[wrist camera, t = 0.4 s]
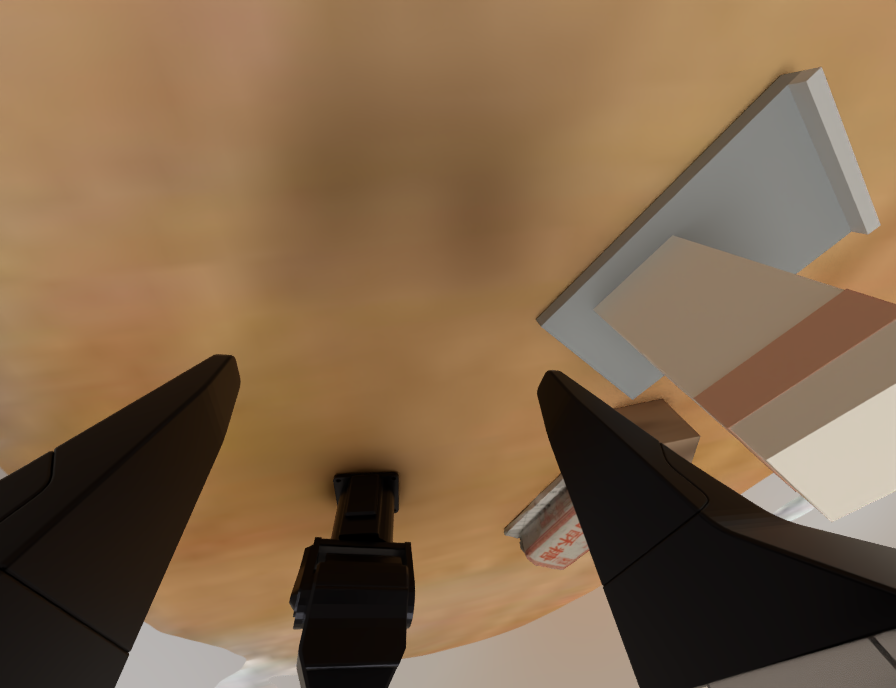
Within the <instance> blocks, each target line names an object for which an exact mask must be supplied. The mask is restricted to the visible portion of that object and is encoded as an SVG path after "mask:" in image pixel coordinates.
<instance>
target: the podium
mask: <svg viewBox="0 0 896 688" xmlns="http://www.w3.org/2000/svg"><path fill="white" fill-rule="evenodd" d="M879 226H880V222H879V219H878V217H877V214H876V211H875V209H874V206H873V203H872V201H871V198H870V195H869V193H868V190H867V187H866V185H865V182H864V179H863V177H862V174H861V171H860V169H859V166H858V163H857V161H856V158H855V155H854V152H853V150H852V147H851V144H850V142H849V139H848V136H847V134H846V131H845V128H844V126H843V123H842V120H841V118H840V115H839V112H838V110H837V107H836V104H835V102H834V99H833V96H832V93H831V91H830V88H829V85H828V83H827V80H826V77H825V75H824V72H823V69H822V67H818V68H813V69H808V70H804V71H799V72H794V73H789V74H784V75H781V76H780V77H779V78H778V79H777V80H776V81H775V82H774V83H773V84H772V85H771V86H770V87H769V88H768V89H767V90H766V91H765V92H764V93H763V94H762V95H761V96H760V97H759V98H757V99H756V100H755V101H754V102H753V103H752V104H751V105H750V106H749V107H748V108H747V109H746V110H745V111H744V112H743V113H742V114H741V115H740V116H739V117H738V118H737V119H736V120H735V121H734V122H733V123H732V124H731V125H730V126H729V127H728V128H727V129H726V130H725V131H724V132H723V133H722V134H721V135H720V136H719V137H718V138H717V139H716V140H715V141H714V142H713V143H712V144H711V145H710V146H709V147H708V148H707V149H706V150H705V151H704V152H703V153H702V154H701V155H700V156H699V157H698V158H697V159H696V160H695V161H694V162H693V163H692V164H691V165H690V166H689V167H688V168H687V169H686V170H685V171H684V172H683V173H682V174H681V175H680V176H679V177H678V178H677V179H676V180H675V181H674V182H673V183H672V184H671V185H670V186H669V187H668V188H667V189H666V190H665V191H664V192H663V193H662V194H661V195H660V196H659V197H658V198H657V199H656V200H655V201H654V202H653V203H652V204H651V205H650V206H649V207H648V208H647V209H646V210H645V211H644V212H643V213H642V214H641V215H640V216H639V217H638V218H637V219H636V220H635V221H634V222H633V223H632V224H631V225H630V226H629V227H628V228H627V229H626V230H625V231H624V232H623V233H622V234H621V235H620V236H619V237H618V238H617V239H616V240H615V241H614V242H613V243H612V244H611V245H610V246H609V247H608V248H607V249H606V250H605V251H604V252H603V253H602V254H601V255H600V256H599V257H598V258H597V259H596V260H595V261H594V262H593V263H592V264H591V265H590V266H589V267H588V268H587V269H586V270H585V271H584V272H583V273H582V274H581V275H580V276H579V277H578V278H577V279H576V280H575V281H574V282H573V283H572V284H571V285H570V286H569V287H568V288H567V289H566V290H565V291H564V292H563V293H562V294H561V295H560V296H559V297H558V298H557V299H556V300H555V301H554V302H553V303H552V304H551V305H550V306H549V307H548V308H547V309H546V310H545V311H544V312H543V313H542V314H541V315H540V316H539V317H538V318H537V319H536V320H537V322H538V323H539V324H540V326H541V327H542V328H544V329H545V330H546V331H547V332H549V333H550V334H551V335H552V336H554V337H555V338H556V339H557V340H559V341H560V342H561V343H562V344H564V345H565V346H566V347H567V348H569V349H570V350H571V351H572V352H574V353H575V354H576V355H577V356H579V357H580V358H581V359H582V360H584V361H585V362H586V363H587V364H589V365H590V366H591V367H592V368H594V369H595V370H596V371H597V372H599V373H600V374H601V375H602V376H604V377H605V378H606V379H607V380H609V381H610V382H611V383H612V384H614V385H615V386H616V387H617V388H619V389H620V390H621V391H622V392H624V393H625V394H626V395H627V396H629V397H630V398H631V399H632V400H633V399H634V398H636V397H637V396H638V395H640V394H641V393H642V392H643V391H645V390H646V389H647V388H649V387H650V386H651V385H652V384H654V383H655V382H656V381H658V380H659V379H660V378H662V377H663V376H664V374H663V373H662V372H660V371H659V370H658V369H657V368H656V367H655V366H654V365H652V364H651V363H650V362H649V361H648V360H647V359H646V358H645V357H644V356H643V355H641V354H640V353H639V352H638V351H637V350H636V349H635V348H634V347H633V346H632V345H631V344H630V343H628V342H627V341H626V340H625V339H624V338H623V337H622V336H621V335H620V334H619V333H618V332H616V331H615V330H614V329H613V328H612V327H611V326H610V325H609V324H608V323H607V322H606V321H604V320H603V319H602V318H601V317H600V316H599V315H598V314H597V313H596V312H595V311H594V310H593V309H594V308H595V307H596V306H597V305H598V304H599V303H600V302H602V301H603V300H604V299H605V298H606V297H607V296H608V295H609V294H610V293H611V292H612V291H613V290H614V289H615V288H617V287H618V286H619V285H620V284H621V283H622V282H623V281H624V280H625V279H626V278H627V277H628V276H629V275H630V274H632V273H633V272H634V271H635V270H636V269H637V268H638V267H639V266H640V265H641V264H642V263H643V262H644V261H645V260H647V259H648V258H649V257H650V256H651V255H652V254H653V253H654V252H655V251H656V250H657V249H658V248H659V247H660V246H661V245H663V244H664V243H665V242H666V241H667V240H668V239H669V238H670V237H671V236H672V235H674V236H677V237H680V238H683V239H686V240H689V241H692V242H696V243H699V244H702V245H705V246H708V247H711V248H714V249H717V250H721V251H724V252H727V253H730V254H733V255H736V256H739V257H743V258H746V259H749V260H752V261H755V262H758V263H761V264H765V265H768V266H771V267H774V268H777V269H780V270H783V271H787V272H790V273H793V274H797V273H798V272H799V271H801V270H802V269H803V268H805V267H806V266H807V265H808V264H810V263H811V262H812V261H814V260H815V259H816V258H818V257H819V256H820V255H821V254H823V253H824V252H825V251H827V250H828V249H829V248H831V247H832V246H833V245H834V244H836V243H837V242H838V241H840V240H841V239H842V238H844V237H845V236H846V235H847V234H849V233H850V232H851V231H852V232H857V233H863V234H869V233H871V232H872V231H873V230H875V229H876V228H877V227H879Z"/></svg>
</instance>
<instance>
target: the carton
mask: <svg viewBox="0 0 896 688" xmlns="http://www.w3.org/2000/svg"><path fill="white" fill-rule="evenodd" d="M593 310H594V311H595V312H596V313H597V314H598V315H599V316H600V317H601V318H602V319H603V320H604V321H606V322H607V323H608V324H609V325H610V326H611V327H612V328H613V329H614V330H615V331H616V332H618V333H619V334H620V335H621V336H622V337H623V338H624V339H625V340H626V341H627V342H628V343H630V344H631V345H632V346H633V347H634V348H635V349H636V350H637V351H638V352H639V353H640V354H641V355H643V356H644V357H645V358H646V359H647V360H648V361H649V362H650V363H651V364H652V365H654V366H655V367H656V368H657V369H658V370H659V371H660V372H662V373H663V374H664V375H665V376H666V377H667V378H668V379H669V380H671V381H672V382H673V383H674V384H675V385H676V386H677V387H679V388H680V389H681V390H682V391H683V392H684V393H685V394H687V395H688V396H689V397H690V398H691V399H692V400H693V401H695V402H696V403H697V404H698V405H699V406H700V407H701V408H702V409H704V410H705V411H706V412H707V413H708V414H709V415H710V416H712V417H713V418H714V419H715V420H716V421H717V422H718V423H720V424H721V425H722V426H723V427H724V428H725V429H726V430H728V431H729V432H730V433H731V434H732V435H733V436H734V437H735V438H737V439H738V440H739V441H740V442H741V443H742V444H743V445H744V446H745V447H746V448H747V449H748V450H750V451H751V452H752V453H753V454H754V455H755V456H756V457H757V458H758V459H759V460H760V461H761V462H763V463H764V464H765V465H766V466H767V467H768V468H769V469H770V470H772V471H773V472H774V473H775V474H776V475H777V476H778V477H780V478H781V479H782V480H783V481H784V482H785V483H786V484H788V485H789V486H790V487H791V488H792V489H793V490H794V491H795V492H798V493H799V494H800V495H801V496H803V497H804V498H805V499H806V500H807V501H808V502H809V503H811V504H812V505H813V506H814V507H815V508H816V509H817V510H819V511H820V512H821V513H822V514H823V515H824V516H825V517H826V518H828V519H829V520H830V521H831V522H833V521H835V520H837V519H839V518H841V517H843V516H845V515H847V514H849V513H852V512H854V511H856V510H858V509H860V508H862V507H864V506H866V505H868V504H870V503H872V502H874V501H876V500H878V499H880V498H882V497H884V496H886V495H888V494H891V493H893V492H895V491H896V304H894V303H890V302H887V301H884V300H881V299H878V298H875V297H871V296H868V295H865V294H862V293H859V292H855V291H852V290H849V289H845V290H843V289H840V288H837V287H834V286H831V285H827V284H824V283H821V282H818V281H815V280H812V279H809V278H805V277H802V276H799V275H796V274H793V273H790V272H787V271H783V270H780V269H777V268H774V267H771V266H768V265H765V264H761V263H758V262H755V261H752V260H749V259H746V258H743V257H739V256H736V255H733V254H730V253H727V252H724V251H721V250H717V249H714V248H711V247H708V246H705V245H702V244H699V243H696V242H692V241H689V240H686V239H683V238H680V237H677V236H674V235H672V236H671V237H670V238H669V239H668V240H667V241H666V242H665V243H664V244H663V245H661V246H660V247H659V248H658V249H657V250H656V251H655V252H654V253H653V254H652V255H651V256H650V257H649V258H648V259H647V260H645V261H644V262H643V263H642V264H641V265H640V266H639V267H638V268H637V269H636V270H635V271H634V272H633V273H632V274H630V275H629V276H628V277H627V278H626V279H625V280H624V281H623V282H622V283H621V284H620V285H619V286H618V287H617V288H615V289H614V290H613V291H612V292H611V293H610V294H609V295H608V296H607V297H606V298H605V299H604V300H603V301H602V302H600V303H599V304H598V305H597V306H596V307H595V308H594V309H593Z"/></svg>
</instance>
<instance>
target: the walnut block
mask: <svg viewBox="0 0 896 688" xmlns="http://www.w3.org/2000/svg"><path fill="white" fill-rule="evenodd" d="M615 410H616V411H617V412H619V413H620V414H622V415H623V416H625V417H626V418H627V419H629V420H630V421H632V422H633V423H634V424H636V425H637V426H639V427H640V428H642V429H643V430H644V431H646V432H647V433H649V434H650V435H651V436H653V437H654V438H656V439H657V440H658V441H659V442H661V443H663V444H664V445H666V446H667V447H669V448H670V449H671V450H673V451H674V452H676V453H677V454H679V455H680V456H681V457H683V458H684V459H686V460H687V461H689V462H690V463H692V460H693V457H694V454H695V451H696V448H697V445H698V442H699V439H700V435H699V434H698V433H697V432H696V431H695V430H694V429H693V428H692V427H691V426H690V425H689V424H688V423H687V422H686V421H685V420H684V419H683V418H682V417H681V416H679V415H678V414H677V413H676V412H675V411H674V410H673V409H672V408H671V407H670V406H669V405H668V404H667V403H666V402H665V401H664V400H663V399H659V400H654V401H649V402H644V403H639V404H635V405H630V406H625V407H620V408H615Z"/></svg>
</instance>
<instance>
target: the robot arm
mask: <svg viewBox="0 0 896 688" xmlns="http://www.w3.org/2000/svg"><path fill="white" fill-rule="evenodd" d="M239 388H240V375H239V371H238V367H237V363H236V359H235V357H234V356H232V355H222V354H216V355H213V356H211V357H209V358H208V359H206V360H204V361H203V362H201V363H199V364H197V365H196V366H194V367H192V368H191V369H189V370H187V371H186V372H184V373H182V374H180V375H179V376H177V377H175V378H174V379H172V380H170V381H169V382H167V383H165V384H163V385H162V386H160V387H158V388H157V389H155V390H153V391H152V392H150V393H148V394H146V395H145V396H143V397H141V398H140V399H138V400H136V401H135V402H133V403H131V404H129V405H128V406H126V407H124V408H123V409H121V410H119V411H118V412H116V413H114V414H112V415H111V416H109V417H107V418H106V419H104V420H102V421H101V422H99V423H97V424H95V425H94V426H92V427H90V428H89V429H87V430H85V431H84V432H82V433H80V434H78V435H77V436H75V437H73V438H72V439H70V440H68V441H67V442H65V443H63V444H61V445H60V446H58V447H56V448H55V449H54V452H53V451H50V452H48V453H46V454H44V455H43V456H41V457H39V458H37V459H36V460H34V461H32V462H31V463H29V464H27V465H25V466H24V467H22V468H20V469H18V470H17V471H15V472H13V473H11V474H10V475H8V476H6V477H4V478H3V479H1V480H0V688H115V686H116V683H117V681H118V679H119V677H120V674H121V672H122V670H123V667H124V665H125V663H126V661H127V658H128V656H129V653H128V652H130V651H131V649H132V647H133V644H134V642H135V640H136V638H137V635H138V633H139V631H140V629H141V626H142V624H143V622H144V620H145V617H146V615H147V613H148V611H149V608H150V606H151V604H152V601H153V599H154V597H155V595H156V592H157V590H158V588H159V586H160V583H161V581H162V579H163V577H164V574H165V572H166V570H167V568H168V565H169V563H170V561H171V559H172V556H173V554H174V552H175V550H176V547H177V545H178V543H179V541H180V538H181V536H182V534H183V532H184V529H185V527H186V525H187V522H188V520H189V518H190V516H191V513H192V511H193V509H194V507H195V504H196V502H197V500H198V498H199V495H200V493H201V491H202V489H203V486H204V484H205V482H206V480H207V477H208V475H209V473H210V471H211V468H212V466H213V464H214V462H215V459H216V457H217V455H218V452H219V450H220V448H221V446H222V443H223V441H224V438H225V435H226V432H227V429H228V425H229V422H230V419H231V415H232V412H233V408H234V405H235V402H236V398H237V395H238V392H239ZM537 396H538V400H539V404H540V408H541V412H542V416H543V420H544V424H545V428H546V432H547V435H548V438H549V441H550V444H551V447H552V450H553V452H554V455H555V458H556V460H557V463H558V466H559V469H560V471H561V474H562V477H563V480H564V482H565V485H566V488H567V490H568V493H569V496H570V499H571V501H572V504H573V507H574V510H575V512H576V515H577V518H578V520H579V523H580V526H581V529H582V531H583V534H584V537H585V540H586V542H587V545H588V548H589V550H590V553H591V556H592V559H593V561H594V564H595V567H596V570H597V572H598V575H599V578H600V580H601V583H602V585H603V589H604V592H605V595H606V597H607V600H608V603H609V605H610V608H611V611H612V614H613V616H614V619H615V622H616V624H617V627H618V630H619V632H620V635H621V638H622V641H623V644H624V646H625V649H626V652H627V654H628V657H629V660H630V663H631V665H632V668H633V671H634V674H635V676H636V679H637V682H638V685H639V687H640V688H702V687H706V686H707V687H708V688H896V549H895V548H891V547H887V546H883V545H879V544H875V543H871V542H867V541H863V540H859V539H855V538H851V537H847V536H843V535H839V534H835V533H831V532H827V531H823V530H819V529H815V528H811V527H807V526H803V525H799V524H796V523H793V522H790V521H787V520H785V519H782V518H780V517H777V516H775V515H773V514H771V513H769V512H767V511H766V510H764V509H762V508H761V507H759V506H757V505H756V504H754V503H753V502H751V501H749V500H748V499H746V498H745V497H743V496H742V495H740V494H738V493H737V492H735V491H734V490H732V489H731V488H729V487H727V486H726V485H724V484H723V483H721V482H720V481H718V480H716V479H715V478H713V477H712V476H710V475H709V474H707V473H706V472H704V471H702V470H701V469H699V468H698V467H696V466H695V465H693V464H692V463H690V462H689V461H687V460H686V459H684V458H683V457H681V456H680V455H679V454H677V453H676V452H674V451H673V450H671V449H670V448H669V447H667V446H666V445H664V444H663V443H661V442H659V441H658V440H657V439H656V438H654V437H653V436H651V435H650V434H649V433H647V432H646V431H644V430H643V429H642V428H640V427H639V426H637V425H636V424H634V423H633V422H632V421H630V420H629V419H627V418H626V417H625V416H623V415H622V414H620V413H619V412H617V411H616V410H615V409H613V408H612V407H610V406H609V405H608V404H606V403H605V402H603V401H602V400H600V399H599V398H598V397H596V396H595V395H593V394H592V393H591V392H589V391H588V390H586V389H585V388H583V387H582V386H581V385H579V384H578V383H576V382H575V381H574V380H572V379H571V378H569V377H568V376H567V375H565V374H564V373H562V372H561V371H555V370H549V371H547V372H546V373H545V375H544V377H543V379H542V381H541V383H540V385H539V387H538V390H537ZM333 482H334V488H335V494H336V500H337V512H336V516H335V521H334V526H333V531H332V536H331V539H321V538H322V537H315V540H314V544H313V545H312V546H309V547H307V548H305V551H304V555H303V559H302V562H301V566H300V569H299V573H298V576H297V578H296V581H295V584H294V587H293V590H292V593H291V597H290V601H289V603H290V605H291V607H292V609H293V610H294V614H293V617H295V621H294V626H293V629H303V631H302V635H301V640H300V644H299V650H298V658H297V672H298V676H299V681H300V685H301V688H388V686H389V684H390V682H391V680H392V677H393V675H394V673H395V671H396V669H397V667H398V665H399V663H400V661H401V659H402V656H403V654H404V651H405V649H406V629H407V628H409V627H410V625H411V622H412V618H413V612H414V602H415V580H414V570H413V560H412V551H411V542H405V543H394V542H393V522H394V513H397V512H398V510H399V475H398V473H396V472H385V473H358V474H337V475H335V476H334V480H333Z"/></svg>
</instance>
